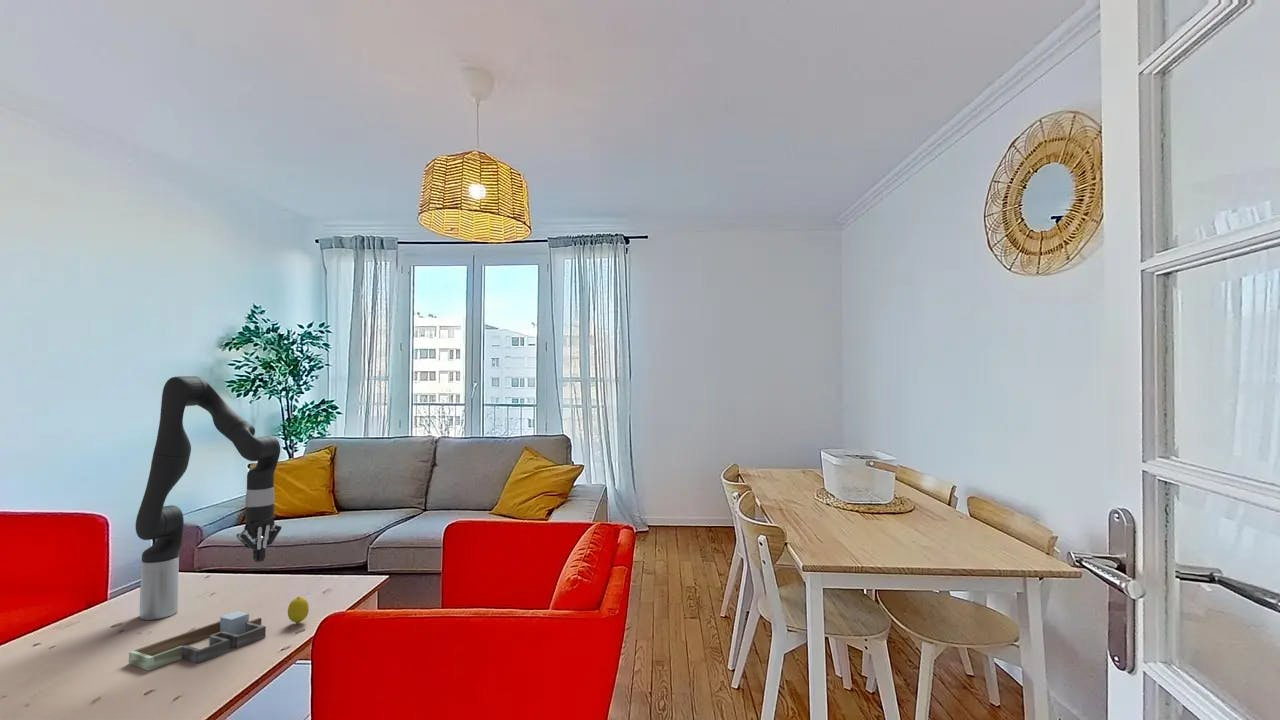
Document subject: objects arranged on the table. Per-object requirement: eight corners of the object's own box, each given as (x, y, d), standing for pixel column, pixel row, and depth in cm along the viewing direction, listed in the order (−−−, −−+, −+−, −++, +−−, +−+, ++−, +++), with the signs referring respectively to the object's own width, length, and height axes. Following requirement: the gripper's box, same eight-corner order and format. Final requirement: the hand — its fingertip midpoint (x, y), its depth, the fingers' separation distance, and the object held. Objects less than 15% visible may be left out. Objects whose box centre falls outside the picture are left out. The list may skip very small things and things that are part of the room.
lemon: (299, 628, 182) (299, 600, 183) (283, 626, 183) (283, 599, 184) (312, 620, 188) (313, 594, 188) (296, 619, 189) (297, 593, 189)
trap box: (128, 663, 159) (129, 652, 159) (241, 623, 186) (241, 613, 186) (165, 676, 153) (166, 663, 153) (277, 632, 179) (277, 622, 179)
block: (219, 634, 178) (220, 616, 178) (237, 628, 182) (237, 611, 183) (230, 637, 176) (231, 619, 176) (248, 631, 180) (248, 613, 181)
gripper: (272, 498, 194) (271, 554, 194) (229, 506, 182) (228, 565, 182) (288, 500, 191) (287, 556, 191) (246, 508, 179) (245, 568, 179)
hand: (259, 561), depth 186 cm, fingers closed
